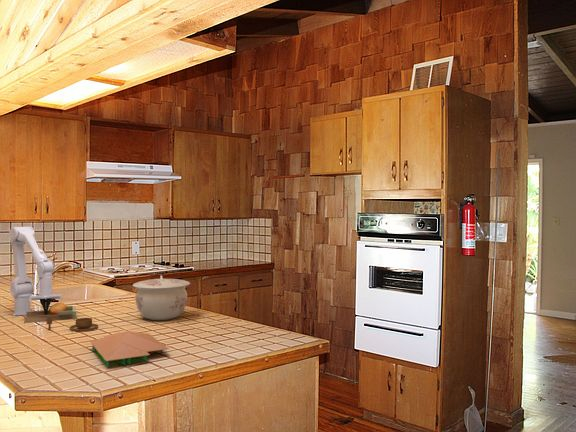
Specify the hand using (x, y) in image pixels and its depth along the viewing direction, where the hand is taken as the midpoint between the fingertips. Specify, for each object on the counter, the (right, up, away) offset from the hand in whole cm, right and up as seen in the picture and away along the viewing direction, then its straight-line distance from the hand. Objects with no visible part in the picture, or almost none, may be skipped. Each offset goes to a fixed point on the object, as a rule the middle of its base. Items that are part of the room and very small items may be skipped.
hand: (46, 314), depth 266 cm
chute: (+1, -2, +1) cm, 2 cm away
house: (+58, -4, -62) cm, 85 cm away
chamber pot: (+56, -2, +1) cm, 56 cm away
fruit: (+5, -2, +2) cm, 6 cm away
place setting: (+23, -3, -21) cm, 31 cm away
